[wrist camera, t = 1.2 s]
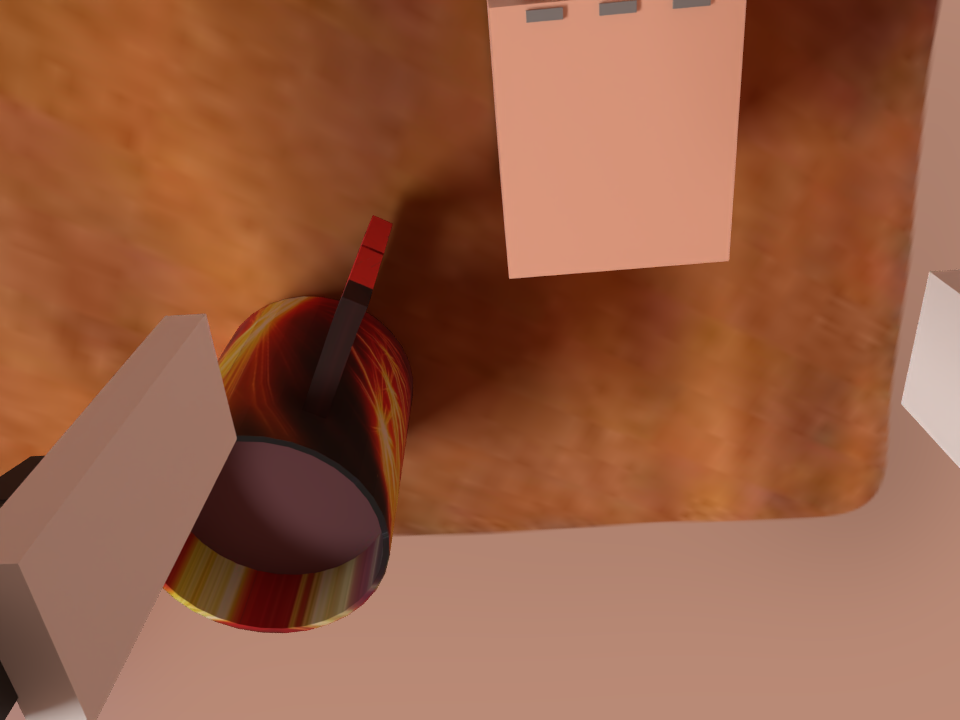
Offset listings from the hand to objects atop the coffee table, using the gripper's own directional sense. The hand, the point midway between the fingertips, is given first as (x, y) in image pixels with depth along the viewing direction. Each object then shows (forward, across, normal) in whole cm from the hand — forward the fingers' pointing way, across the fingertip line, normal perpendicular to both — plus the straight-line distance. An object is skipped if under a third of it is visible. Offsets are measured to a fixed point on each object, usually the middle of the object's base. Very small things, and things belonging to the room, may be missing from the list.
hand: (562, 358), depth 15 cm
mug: (+22, -11, -10) cm, 27 cm away
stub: (+22, +2, +2) cm, 22 cm away
